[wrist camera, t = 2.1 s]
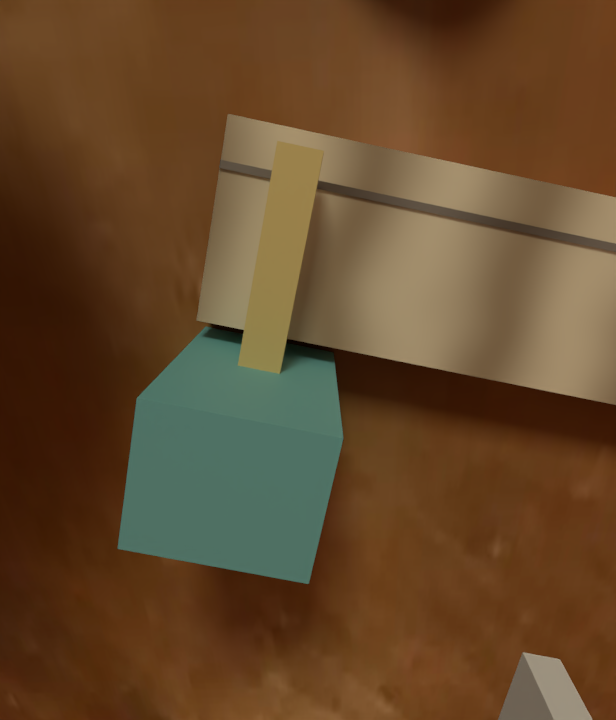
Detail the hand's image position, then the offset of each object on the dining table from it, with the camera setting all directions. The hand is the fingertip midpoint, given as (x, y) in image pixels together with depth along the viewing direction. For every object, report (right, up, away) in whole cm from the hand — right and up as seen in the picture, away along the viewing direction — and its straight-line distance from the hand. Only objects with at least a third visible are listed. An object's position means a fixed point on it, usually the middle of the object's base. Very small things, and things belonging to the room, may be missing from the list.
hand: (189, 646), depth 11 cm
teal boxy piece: (+1, +8, +14) cm, 16 cm away
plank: (+10, +9, +13) cm, 19 cm away
